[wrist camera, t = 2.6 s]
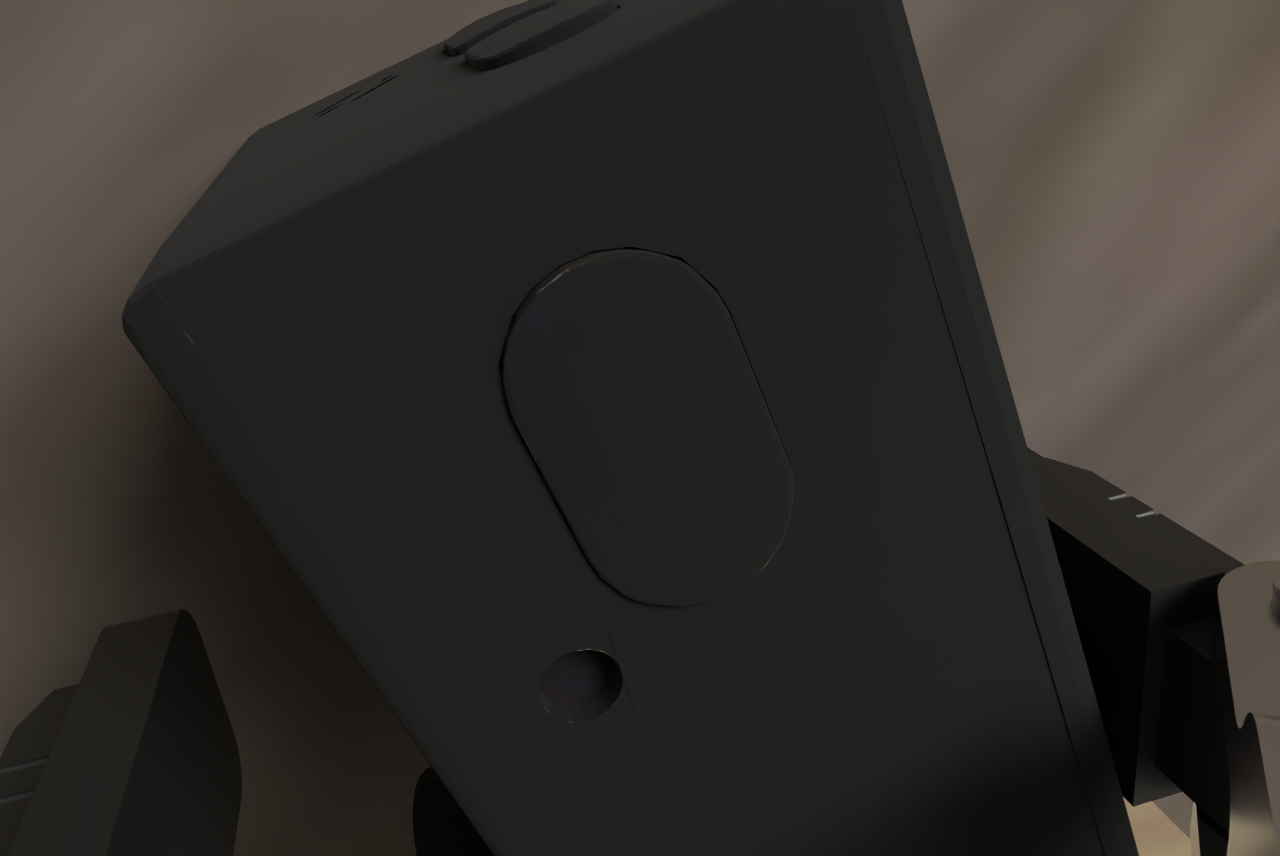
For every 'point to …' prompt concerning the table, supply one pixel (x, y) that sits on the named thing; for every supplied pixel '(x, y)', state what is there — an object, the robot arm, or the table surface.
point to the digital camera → (648, 439)
